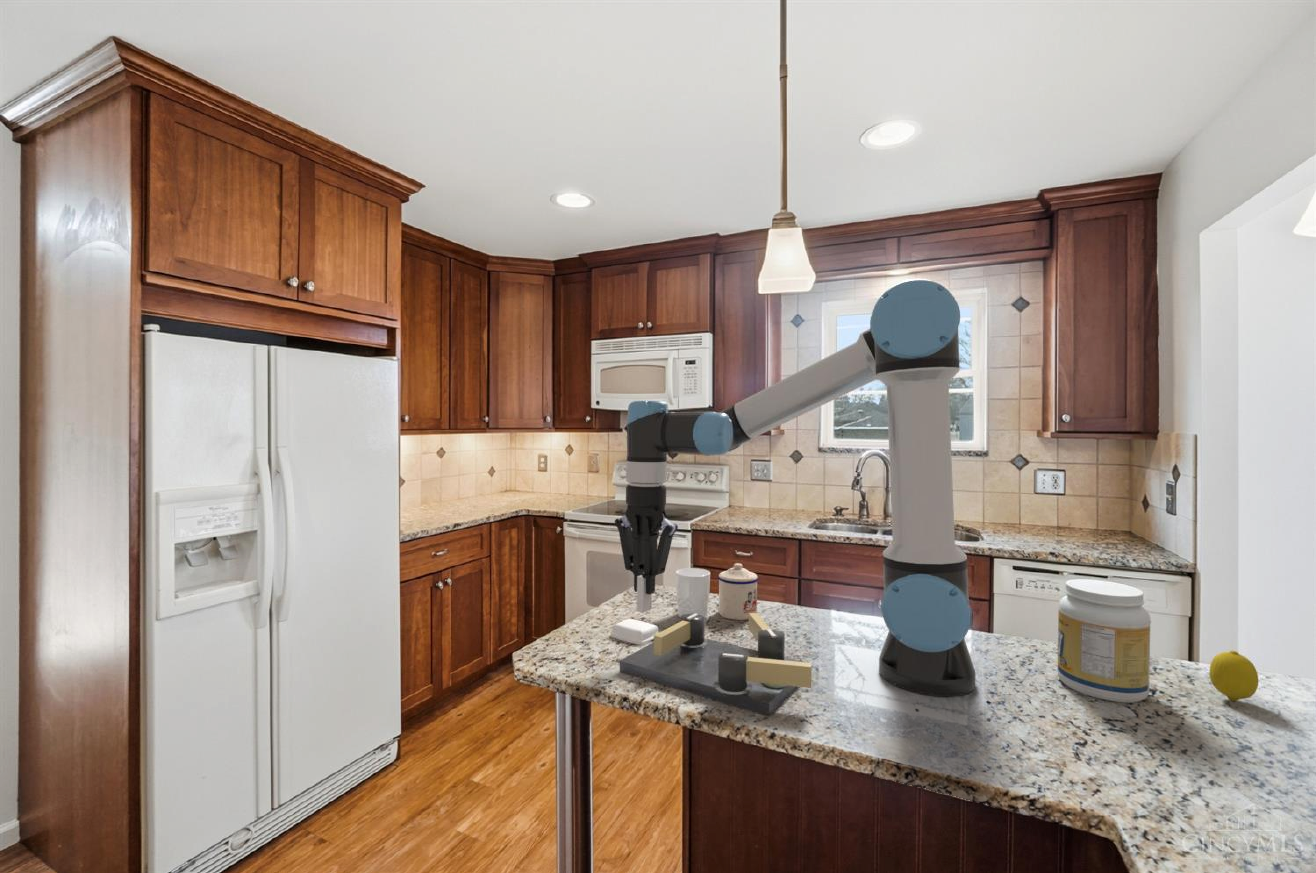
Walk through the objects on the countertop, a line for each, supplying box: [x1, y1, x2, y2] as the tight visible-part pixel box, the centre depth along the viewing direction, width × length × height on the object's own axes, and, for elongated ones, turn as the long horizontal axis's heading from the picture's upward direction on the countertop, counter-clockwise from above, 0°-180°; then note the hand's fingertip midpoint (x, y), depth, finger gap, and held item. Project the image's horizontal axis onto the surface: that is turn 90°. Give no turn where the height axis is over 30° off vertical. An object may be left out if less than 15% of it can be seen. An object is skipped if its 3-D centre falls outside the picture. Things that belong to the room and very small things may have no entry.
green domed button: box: [763, 683, 787, 688], centre depth 94 cm, size 4×4×1 cm
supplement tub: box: [1056, 578, 1152, 703], centre depth 97 cm, size 12×12×17 cm
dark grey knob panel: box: [619, 637, 810, 717], centre depth 102 cm, size 28×19×2 cm
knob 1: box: [653, 613, 706, 656], centre depth 108 cm, size 14×5×5 cm, turn 146°
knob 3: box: [718, 651, 812, 691], centre depth 92 cm, size 14×5×5 cm, turn 76°
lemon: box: [1209, 650, 1259, 702], centre depth 93 cm, size 6×6×8 cm
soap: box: [610, 618, 659, 646], centre depth 121 cm, size 9×7×3 cm
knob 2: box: [748, 612, 786, 660], centre depth 108 cm, size 14×5×5 cm, turn 6°
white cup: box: [675, 567, 711, 619], centre depth 134 cm, size 8×8×10 cm
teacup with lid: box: [717, 562, 759, 621], centre depth 136 cm, size 12×9×12 cm
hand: (644, 609), depth 109 cm, fingers closed
